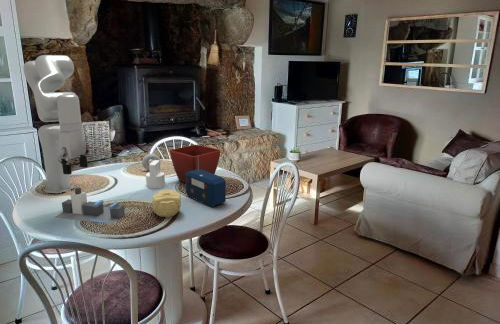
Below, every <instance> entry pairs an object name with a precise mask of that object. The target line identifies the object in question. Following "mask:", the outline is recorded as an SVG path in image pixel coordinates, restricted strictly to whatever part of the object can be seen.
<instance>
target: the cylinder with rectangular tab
mask: <svg viewBox="0 0 500 324" xmlns="http://www.w3.org/2000/svg"><path fill="white" fill-rule="evenodd" d="M149 164H150V165H149V170H148V171H149V172H147V173H146V174H145V182H146V183H145V184H146V187H147V188H149V189H161V188H163V187H165V185H166V181H165V179H166V178H165V172H163V171H161V159H160V160H152V161H151V162H150V163H149Z"/></svg>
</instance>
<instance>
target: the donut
mask: <svg viewBox="0 0 500 324" xmlns="http://www.w3.org/2000/svg"><path fill="white" fill-rule="evenodd" d="M151 160H152V161H154V160H160V161H161V158H160V157H159V156H158V155H157V154H156V153H148V154H146V155H144V157H143V158H142V161H141V162H142V166H143V168H144V169H145V170H146V171H149V165H150V164H151V163H149V161H151Z"/></svg>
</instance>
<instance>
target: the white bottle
mask: <svg viewBox="0 0 500 324" xmlns="http://www.w3.org/2000/svg"><path fill="white" fill-rule="evenodd" d="M87 198H88V197H87V192H86V191H82V188H81V187H74V192H73V193H70V199H71V202H72V210H73V213H75V214H83V205H84V204H85V203H87V202H88V199H87Z"/></svg>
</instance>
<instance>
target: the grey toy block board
mask: <svg viewBox="0 0 500 324" xmlns="http://www.w3.org/2000/svg"><path fill="white" fill-rule="evenodd" d="M61 205H62V212H61V213H60V212H59V214H57V215H56V216H54V218H58V219H67V220H74V221H81V222H82V221H83V222H90V223H91V222H92V223H98V224H107V225H113V224H115V223H116V222H117V221H118V220H120V219H121V218H123V217H124V216H125V217H124V219H126V218H127V217H128V216H129V215H131V214H132V212H131V209H127V208H125V205H124V204H120V202H119V201H115V202H114V203H112V204H110V205H109V206H104V199H101V200H98V201H97V202H96V201H87V203H85V204H84V205H83V214H75V213H73V210H72V202H71V198H70V199H69V198H68V199H66V200H64V201H63V202H61ZM128 213H129V214H128ZM126 214H128V215H126ZM122 221H123V219H121V220H120V221H119V222H117V223H116V224H115V226H116V225H118V224H119V223H121V222H122ZM111 228H114V226H112V227H111Z"/></svg>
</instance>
